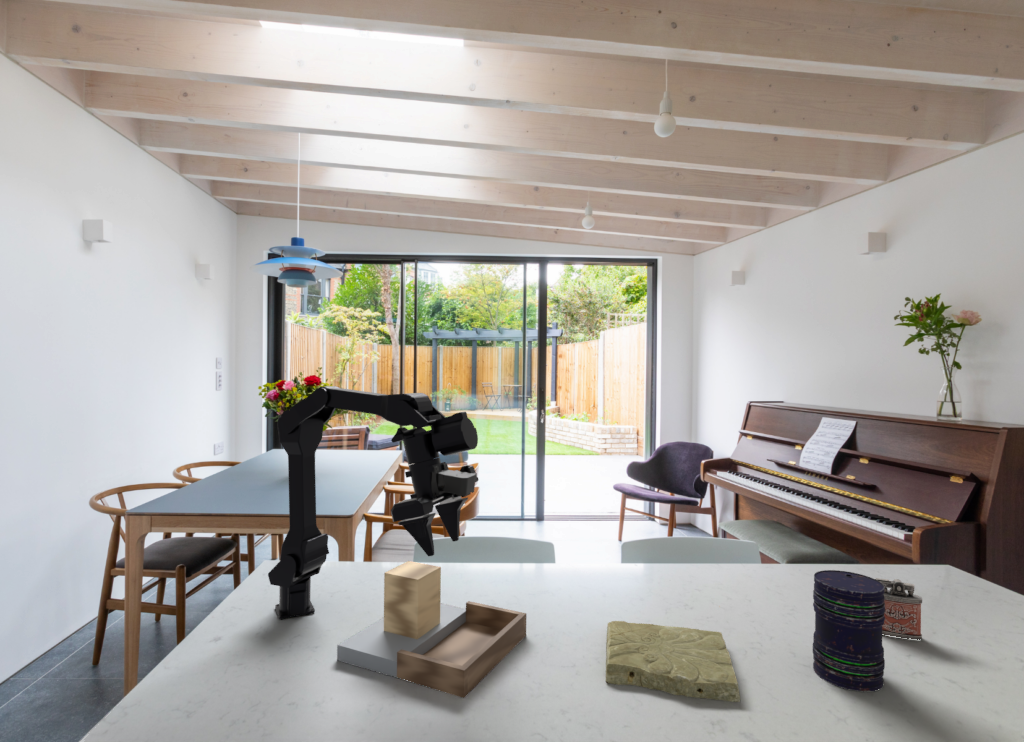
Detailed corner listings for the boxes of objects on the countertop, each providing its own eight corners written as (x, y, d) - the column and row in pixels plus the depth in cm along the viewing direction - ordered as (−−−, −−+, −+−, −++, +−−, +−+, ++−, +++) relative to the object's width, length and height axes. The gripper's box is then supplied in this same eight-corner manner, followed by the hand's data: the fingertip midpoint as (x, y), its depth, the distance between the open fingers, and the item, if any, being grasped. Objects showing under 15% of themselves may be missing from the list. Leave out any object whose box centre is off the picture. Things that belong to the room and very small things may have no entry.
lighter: (919, 635, 104) (920, 580, 104) (924, 643, 101) (924, 587, 101) (868, 626, 108) (868, 573, 108) (870, 634, 105) (871, 579, 105)
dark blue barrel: (885, 699, 83) (886, 597, 83) (809, 680, 88) (810, 584, 89) (883, 670, 92) (884, 577, 92) (814, 653, 97) (815, 565, 97)
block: (383, 630, 98) (384, 572, 98) (407, 615, 104) (408, 560, 104) (417, 639, 95) (417, 579, 95) (440, 623, 101) (440, 566, 101)
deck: (337, 660, 93) (337, 644, 93) (415, 610, 113) (416, 597, 113) (396, 678, 88) (397, 661, 88) (468, 622, 107) (468, 609, 108)
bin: (396, 678, 88) (397, 652, 88) (468, 622, 107) (468, 601, 108) (464, 698, 82) (464, 670, 82) (526, 635, 102) (526, 613, 102)
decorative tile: (606, 635, 104) (607, 615, 104) (722, 647, 100) (722, 626, 100) (601, 691, 86) (601, 667, 86) (742, 708, 82) (743, 683, 82)
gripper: (437, 459, 90) (460, 557, 89) (484, 445, 108) (504, 527, 106) (380, 473, 94) (401, 567, 93) (434, 457, 112) (452, 536, 110)
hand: (444, 548), depth 100 cm, fingers open, 9 cm apart
